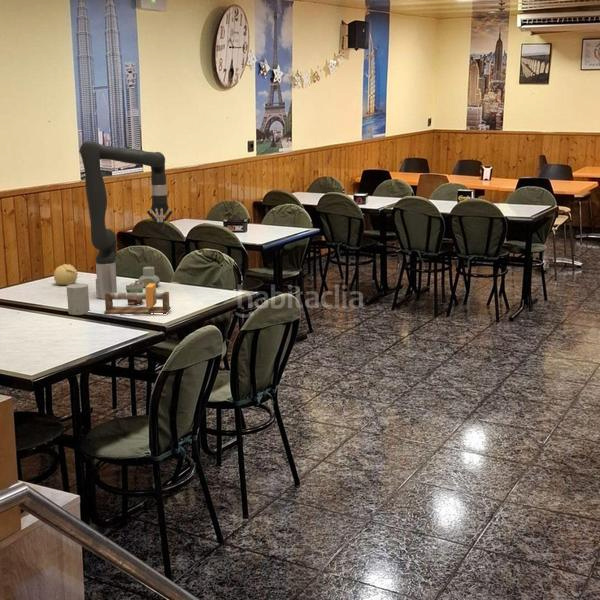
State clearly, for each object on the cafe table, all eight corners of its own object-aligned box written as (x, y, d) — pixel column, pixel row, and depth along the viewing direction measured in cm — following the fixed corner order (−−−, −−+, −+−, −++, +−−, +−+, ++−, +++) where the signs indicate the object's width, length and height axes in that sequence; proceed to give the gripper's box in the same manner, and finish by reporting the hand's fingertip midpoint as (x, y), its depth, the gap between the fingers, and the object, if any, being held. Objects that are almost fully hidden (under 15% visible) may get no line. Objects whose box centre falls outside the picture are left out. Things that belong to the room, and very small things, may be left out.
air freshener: (161, 284, 447) (160, 265, 445) (158, 288, 439) (157, 269, 437) (140, 285, 447) (139, 266, 445) (137, 288, 439) (136, 269, 437)
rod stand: (104, 314, 385) (103, 295, 383) (110, 309, 395) (109, 290, 393) (166, 315, 384) (165, 295, 382) (170, 309, 393) (169, 290, 391)
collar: (146, 306, 384) (145, 287, 382) (150, 302, 392) (149, 283, 390) (152, 306, 384) (151, 287, 382) (156, 302, 392) (155, 283, 390)
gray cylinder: (63, 313, 388) (62, 287, 385) (76, 309, 397) (74, 282, 394) (82, 315, 385) (80, 288, 382) (94, 310, 393) (92, 284, 391)
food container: (139, 306, 400) (138, 285, 397) (126, 306, 401) (125, 285, 398) (148, 301, 411) (147, 280, 409) (136, 300, 413) (135, 280, 410)
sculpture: (78, 285, 446) (77, 265, 444) (54, 287, 443) (52, 266, 441) (78, 281, 457) (76, 261, 455) (54, 283, 454) (53, 262, 452)
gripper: (174, 193, 418) (175, 228, 422) (147, 193, 419) (149, 228, 423) (171, 194, 411) (172, 230, 415) (143, 195, 412) (145, 230, 415)
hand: (160, 229), depth 419 cm, fingers closed
